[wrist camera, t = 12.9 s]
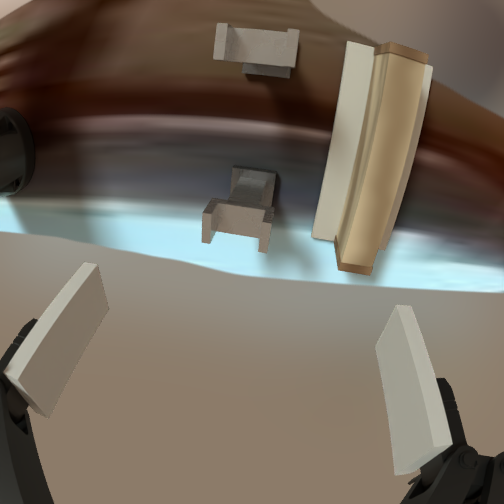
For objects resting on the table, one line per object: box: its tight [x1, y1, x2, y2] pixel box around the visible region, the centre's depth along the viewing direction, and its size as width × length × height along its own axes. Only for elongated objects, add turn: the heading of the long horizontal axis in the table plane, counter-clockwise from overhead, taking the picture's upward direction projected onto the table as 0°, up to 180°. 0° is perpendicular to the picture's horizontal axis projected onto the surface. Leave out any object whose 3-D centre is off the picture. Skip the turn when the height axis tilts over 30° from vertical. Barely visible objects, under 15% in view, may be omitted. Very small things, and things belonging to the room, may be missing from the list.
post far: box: [202, 165, 277, 253], centre depth 32 cm, size 6×5×11 cm
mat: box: [311, 41, 433, 250], centre depth 32 cm, size 10×24×1 cm, turn 174°
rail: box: [334, 42, 428, 275], centre depth 29 cm, size 4×24×6 cm, turn 174°
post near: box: [213, 23, 299, 79], centre depth 24 cm, size 6×5×11 cm
